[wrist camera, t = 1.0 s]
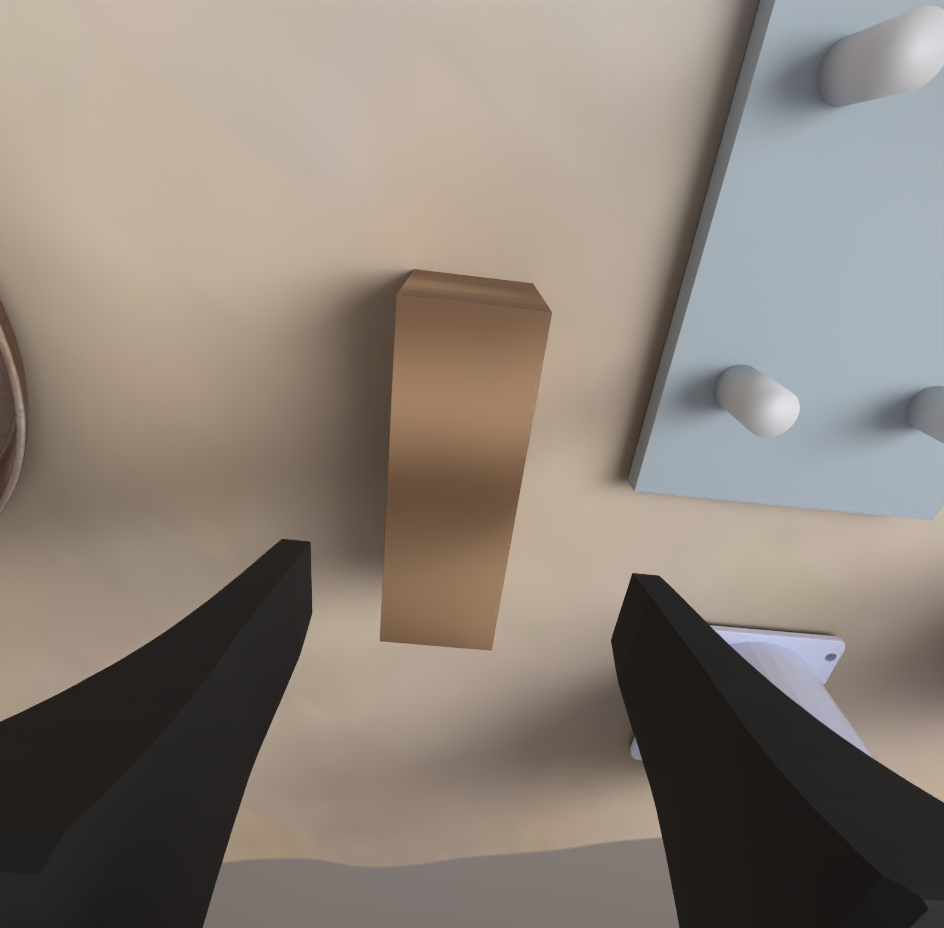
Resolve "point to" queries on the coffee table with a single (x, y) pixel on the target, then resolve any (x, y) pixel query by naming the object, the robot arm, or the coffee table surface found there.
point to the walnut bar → (457, 452)
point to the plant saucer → (11, 410)
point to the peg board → (816, 276)
